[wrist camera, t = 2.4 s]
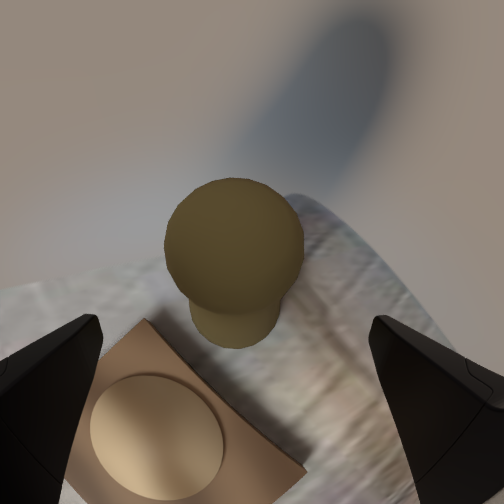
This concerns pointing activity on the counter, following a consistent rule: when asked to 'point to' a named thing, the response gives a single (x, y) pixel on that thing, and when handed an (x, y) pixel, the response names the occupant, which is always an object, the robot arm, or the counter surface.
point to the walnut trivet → (168, 435)
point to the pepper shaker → (234, 258)
